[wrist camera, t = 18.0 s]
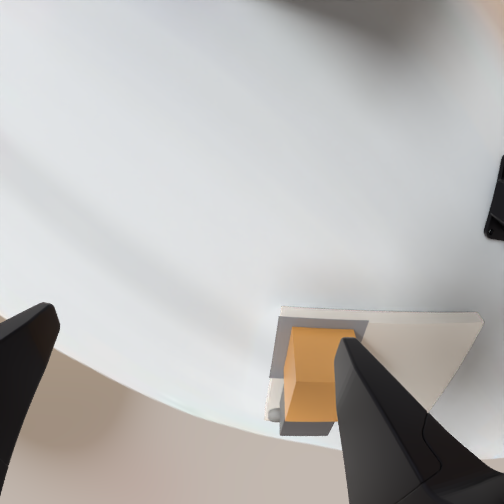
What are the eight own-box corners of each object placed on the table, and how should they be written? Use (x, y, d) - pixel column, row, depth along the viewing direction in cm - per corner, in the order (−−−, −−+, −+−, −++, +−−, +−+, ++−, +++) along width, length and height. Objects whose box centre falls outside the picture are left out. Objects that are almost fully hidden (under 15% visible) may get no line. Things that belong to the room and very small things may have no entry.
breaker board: (478, 309, 22) (488, 324, 21) (424, 403, 28) (429, 417, 27) (278, 303, 23) (279, 321, 21) (262, 408, 29) (261, 425, 27)
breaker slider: (331, 383, 24) (336, 417, 21) (323, 403, 26) (327, 435, 22) (284, 382, 24) (285, 416, 21) (279, 402, 26) (279, 435, 22)
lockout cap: (353, 329, 22) (368, 381, 17) (338, 370, 24) (348, 421, 19) (292, 326, 22) (296, 381, 17) (283, 369, 24) (285, 421, 19)
